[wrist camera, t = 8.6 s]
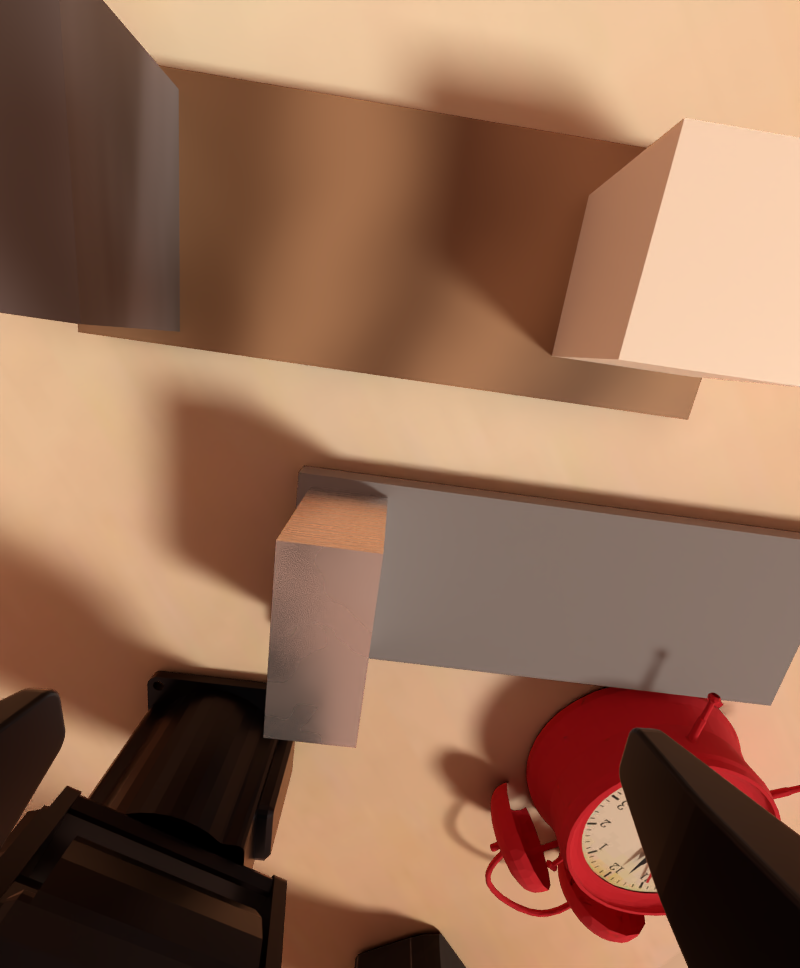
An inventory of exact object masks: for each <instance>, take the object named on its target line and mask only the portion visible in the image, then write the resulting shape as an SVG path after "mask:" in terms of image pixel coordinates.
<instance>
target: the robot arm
mask: <svg viewBox="0 0 800 968" xmlns="http://www.w3.org/2000/svg"><path fill="white" fill-rule="evenodd" d="M158 681H159V682H161V683H163V684H160V683H159V682H158ZM147 686H148V712H147V714H146V715H145V717H144V718H143V720H142V721H141V722H140V724H139V725H138V727H137V728H136V730H135V731H134V732H133V734H132V735H131V737H130V738H129V740H128V741H127V743H126V744H125V745H124V747H123V748H122V750H121V751H120V753H119V754H118V756H117V757H116V758H115V760H114V761H113V763H112V764H111V766H110V767H109V769H108V770H107V771H106V773H105V774H104V776H103V777H102V779H101V780H100V781H99V783H98V784H97V786H96V787H95V789H94V790H93V792H92V793H91V794H90V796H89V797H88V798H86V797H84V796H82V795H80V794H81V791H79V790H76V789H74V788H72V787H70V786H66V787H65V789H64V790H63V791H62V792H61V793H60V795H59V796H58V797H57V798H56V800H55V801H54V802H53V803H52V804H51V806H48V807H47V806H45V805H44V806H43V807H42V808H41V809H40V810H34V811H28V812H27V813H26V815H25V816H24V817H23V818H22V820H21V821H20V822H19V823H18V825H17V826H16V827H15V828H14V826H15V825H16V823H17V821H18V819H19V818H20V816H21V814H22V813H23V811H24V809H25V808H26V806H27V804H28V803H29V801H30V799H31V798H32V796H33V794H34V793H35V791H36V789H37V788H38V786H39V784H40V783H41V781H42V779H43V778H44V776H45V774H46V773H47V771H48V769H49V768H50V766H51V764H52V762H53V761H54V759H55V757H56V756H57V754H58V752H59V751H60V749H61V747H62V744H63V741H64V738H65V726H64V719H63V713H62V707H61V700H60V696H59V694H58V693H57V691H55V690H53V689H40V688H27V689H24V690H21V691H19V692H17V693H15V694H13V695H11V696H9V697H7V698H5V699H3V700H1V701H0V968H281V962H282V947H283V933H284V918H285V904H286V889H287V881H286V880H284V879H282V878H280V877H277V876H275V875H273V876H272V877H269V876H267V875H265V874H262V873H260V872H258V871H255V870H253V869H252V867H253V864H254V860H265V859H266V858H267V857H268V856H269V855H270V854H271V851H272V847H273V843H274V839H275V835H276V832H277V828H278V824H279V820H280V816H281V812H282V808H283V804H284V800H285V796H286V792H287V789H288V785H289V781H290V777H291V773H292V767H293V756H294V745H295V741H289V740H280V739H271V738H263V737H264V721H265V705H266V689H267V683H263V682H254V681H246V680H237V679H228V678H219V677H211V676H202V675H193V674H184V673H176V672H167V671H158V672H156V673H154V675H153V676H152V677H151V678H150V680H149V681H148V685H147ZM619 777H620V782H621V786H622V789H623V792H624V795H625V798H626V801H627V804H628V807H629V810H630V813H631V816H632V819H633V822H634V825H635V828H636V831H637V834H638V837H639V840H640V843H641V846H642V849H643V852H644V855H645V858H646V861H647V864H648V867H649V870H650V873H651V876H652V879H653V882H654V884H655V887H656V890H657V893H658V896H659V898H660V901H661V904H662V906H663V908H664V911H665V913H666V916H667V918H668V921H669V923H670V926H671V928H672V930H673V933H674V935H675V937H676V940H677V942H678V945H679V947H680V949H681V952H682V954H683V956H684V958H685V961H686V963H687V966H688V968H800V835H799V834H797V833H796V832H795V831H793V830H792V829H791V828H790V827H788V826H787V825H786V824H784V823H783V822H782V821H780V820H779V819H778V818H776V817H775V816H774V815H772V814H771V813H770V812H768V811H767V810H766V809H764V808H763V807H762V806H760V805H759V804H758V803H756V802H755V801H754V800H752V799H751V798H750V797H749V796H747V795H746V794H745V793H743V792H742V791H741V790H739V789H738V788H737V787H735V786H734V785H733V784H731V783H730V782H729V781H727V780H726V779H725V778H723V777H722V776H721V775H719V774H718V773H717V772H715V771H714V770H713V769H712V768H710V767H709V766H708V765H706V764H705V763H704V762H702V761H701V760H700V759H698V758H697V757H696V756H694V755H693V754H692V753H690V752H689V751H688V750H686V749H685V748H684V747H682V746H681V745H680V744H678V743H677V742H676V741H674V740H673V739H672V738H671V737H669V736H668V735H667V734H665V733H664V732H662V731H660V730H658V729H652V728H633V729H632V730H631V731H630V732H629V735H628V738H627V742H626V745H625V749H624V752H623V755H622V759H621V762H620V767H619ZM13 828H14V830H13ZM12 830H13V831H12ZM11 831H12V832H11Z"/></svg>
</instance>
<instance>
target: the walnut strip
mask: <svg viewBox="0 0 800 968" xmlns="http://www.w3.org/2000/svg"><path fill="white" fill-rule="evenodd" d="M645 149H647V148H643V147H637V146H631V145H625V144H620V143H614V142H608V141H602V140H596V139H590V138H584V137H578V136H572V135H566V134H560V133H554V132H549V131H543V130H537V129H531V128H525V127H519V126H513V125H507V124H501V123H495V122H489V121H483V120H478V119H472V118H466V117H460V116H454V115H448V114H442V113H436V112H430V111H424V110H418V109H413V108H407V107H401V106H395V105H389V104H383V103H377V102H371V101H365V100H359V99H353V98H347V97H342V96H336V95H330V94H324V93H318V92H312V91H306V90H300V89H294V88H288V87H282V86H276V85H271V84H265V83H259V82H253V81H247V80H241V79H235V78H229V77H223V76H217V75H211V74H206V73H200V72H194V71H188V70H182V69H176V68H170V67H164V66H159V65H158V64H157V63H156V62H155V61H154V60H153V58H152V57H151V56H150V55H149V54H148V53H147V51H146V50H145V49H144V48H143V47H142V46H141V44H140V43H139V42H138V41H137V40H136V39H135V37H134V36H133V35H132V34H131V33H130V31H129V30H128V29H127V28H126V27H125V26H124V24H123V23H122V22H121V21H120V20H119V19H118V17H117V16H116V15H115V14H114V13H113V12H112V10H111V9H110V8H109V7H108V6H107V5H106V3H105V2H104V1H103V0H0V313H7V314H14V315H21V316H27V317H34V318H41V319H48V320H55V321H62V322H69V323H76V324H78V332H82V333H89V334H96V335H103V336H110V337H117V338H123V339H130V340H137V341H144V342H151V343H158V344H165V345H172V346H179V347H186V348H193V349H200V350H207V351H214V352H221V353H228V354H235V355H242V356H248V357H255V358H262V359H269V360H276V361H283V362H290V363H297V364H304V365H311V366H318V367H325V368H332V369H339V370H346V371H353V372H360V373H367V374H374V375H380V376H387V377H394V378H401V379H408V380H415V381H422V382H429V383H436V384H443V385H450V386H457V387H464V388H471V389H478V390H485V391H492V392H499V393H505V394H512V395H519V396H526V397H533V398H540V399H547V400H554V401H561V402H568V403H575V404H582V405H589V406H596V407H603V408H610V409H617V410H624V411H631V412H637V413H644V414H651V415H658V416H665V417H672V418H679V419H686V420H688V418H689V415H690V412H691V409H692V406H693V403H694V400H695V397H696V394H697V391H698V388H699V385H700V382H701V379H702V378H700V377H690V376H682V375H676V374H669V373H662V372H655V371H649V370H642V369H635V368H628V367H622V366H615V365H608V364H601V363H595V362H588V361H581V360H574V359H568V358H561V357H554V356H552V353H553V349H554V344H555V340H556V336H557V331H558V327H559V323H560V318H561V314H562V310H563V305H564V301H565V297H566V292H567V288H568V284H569V279H570V275H571V271H572V266H573V262H574V258H575V253H576V249H577V245H578V240H579V236H580V232H581V227H582V223H583V219H584V214H585V210H586V206H587V201H588V197H589V195H590V194H591V193H592V192H594V191H595V190H596V189H597V188H599V187H600V186H601V185H602V184H603V183H605V182H606V181H607V180H608V179H610V178H611V177H612V176H613V175H615V174H616V173H617V172H618V171H620V170H621V169H622V168H623V167H624V166H626V165H627V164H628V163H629V162H631V161H632V160H633V159H634V158H636V157H637V156H638V155H639V154H640V153H642V152H643V151H644V150H645Z"/></svg>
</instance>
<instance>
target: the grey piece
mask: <svg viewBox="0 0 800 968" xmlns="http://www.w3.org/2000/svg"><path fill="white" fill-rule="evenodd" d="M799 645H800V533H799V532H792V531H785V530H777V529H770V528H762V527H755V526H747V525H740V524H733V523H725V522H718V521H710V520H703V519H696V518H688V517H681V516H673V515H666V514H658V513H651V512H644V511H636V510H629V509H621V508H614V507H606V506H599V505H592V504H584V503H577V502H569V501H562V500H554V499H547V498H540V497H532V496H525V495H517V494H510V493H502V492H495V491H488V490H480V489H473V488H465V487H458V486H451V485H443V484H436V483H428V482H421V481H413V480H406V479H399V478H391V477H384V476H376V475H369V474H361V473H354V472H347V471H339V470H332V469H324V468H317V467H309V466H304V467H303V468H302V469H301V470H300V471H299V475H298V488H297V501H296V510H295V512H294V513H293V515H292V516H291V518H290V519H289V521H288V523H287V524H286V526H285V527H284V529H283V530H282V532H281V533H280V535H279V536H278V538H277V540H276V548H275V563H274V579H273V595H272V611H271V626H270V642H269V658H268V674H267V689H266V705H265V721H264V737H263V738H271V739H280V740H289V741H298V742H308V743H317V744H326V745H335V746H344V747H353V748H356V743H357V736H358V729H359V722H360V715H361V708H362V701H363V694H364V687H365V680H366V673H367V666H368V659H369V658H370V659H378V660H387V661H395V662H404V663H412V664H421V665H429V666H438V667H446V668H455V669H463V670H472V671H480V672H489V673H497V674H506V675H514V676H523V677H531V678H540V679H548V680H557V681H565V682H574V683H582V684H591V685H599V686H608V687H616V688H625V689H633V690H642V691H650V692H659V693H667V694H676V695H684V696H693V697H701V698H707V696H708V694H709V693H712V692H713V693H716V694H718V695H719V696H720V698H721V700H727V701H735V702H744V703H752V704H761V705H769V706H771V704H772V702H773V700H774V697H775V695H776V693H777V691H778V689H779V687H780V685H781V683H782V681H783V678H784V676H785V674H786V672H787V670H788V668H789V666H790V664H791V662H792V660H793V657H794V655H795V653H796V651H797V649H798V647H799Z"/></svg>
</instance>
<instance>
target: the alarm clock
mask: <svg viewBox="0 0 800 968" xmlns="http://www.w3.org/2000/svg"><path fill="white" fill-rule="evenodd" d="M722 705H723V704H722V702H721V698H720V696H719V695H718V694H716V693H713V692H712V693H709V694H708V696H707V698H701V697H693V696H684V695H676V694H667V693H659V692H650V691H642V690H633V689H625V688H616V687H608V688H605V689H602V690H598V691H595V692H593V693H591V694H589V695H587V696H584V697H582V698H580V699H578V700H577V701H575V702H573V703H571V704H570V705H568V706H567V707H566V708H564V709H563V710H561V711H560V712H559V713H558V714H557V715H556V716H554V717H553V718H552V719H551V720H550V721H549V722H548V723H547V724H546V726H545V727H544V728H543V730H542V731H541V732H540V734H539V735H538V736H537V738H536V740H535V742H534V744H533V746H532V748H531V751H530V754H529V757H528V762H527V770H526V774H527V784H528V788H529V792H530V795H531V798H532V801H533V803H534V805H535V807H536V809H537V811H538V812H539V814H540V815H541V817H542V818H543V819H544V821H545V822H546V823H547V824H548V825H549V826H550V827H551V828H552V829H553V831H554V832H555V835H556V838H557V840H555V841H552V842H549V843H547V844H544V845H541V844H540V841H539V838H538V835H537V832H536V830H535V827H534V825H533V822H532V820H531V817H530V815H529V813H528V811H527V809H526V807H525V808H524V809H522V810H516V811H513V810H511V809H510V804H509V799H508V795H507V783H508V782H507V783H504V784H501V785H500V786H498V787H497V788H496V789H495V791H494V792H493V795H492V798H491V817H492V824H493V828H494V832H495V836H496V840H497V842H495V843H493V844H491V845H490V848H491V851H493V852H494V851H496V850H499V849H500V852H499V853H498V854H497V855H496V856H495V857H494V858H493V860H492V861H491V863H490V864H489V866H488V868H487V870H486V874H485V877H486V884H487V886H488V887H489V889H490V891H491V892H492V893H493V894H494V895H495V896H496V897H497V898H498V899H499V900H501V901H502V902H504V903H505V904H507V905H508V906H510V907H512V908H514V909H515V910H517V911H520V912H523V913H526V914H528V915H531V916H537V917H548V916H552V915H556V914H560V913H562V912H564V911H566V910H568V909H570V908H571V909H572V910H573V912H574V913H575V915H576V916H577V917H578V919H579V920H580V921H581V922H582V923H583V924H584V925H585V926H586V927H587V928H588V929H589V930H590V931H592V932H593V933H594V934H596V935H598V936H599V937H601V938H603V939H606V940H608V941H613V942H619V943H623V942H628V941H630V940H632V939H633V938H635V937H637V936H638V935H639V934H640V932H641V930H642V928H643V927H644V925H645V918H644V915H654V916H659V915H666V913H665V911H664V908H663V906H662V904H661V901H660V898H659V896H658V893H657V890H656V887H655V884H654V882H653V879H652V876H651V873H650V870H649V867H648V864H647V861H646V858H645V855H644V852H643V849H642V846H641V843H640V840H639V837H638V834H637V831H636V828H635V825H634V822H633V819H632V816H631V813H630V810H629V807H628V804H627V801H626V798H625V795H624V792H623V789H622V786H621V782H620V777H619V767H620V762H621V759H622V755H623V752H624V749H625V745H626V742H627V738H628V735H629V732H630V731H631V730H632V729H633V728H652V729H658V730H660V731H662V732H664V733H665V734H667V735H668V736H669V737H671V738H672V739H673V740H674V741H676V742H677V743H678V744H680V745H681V746H682V747H684V748H685V749H686V750H688V751H689V752H690V753H692V754H693V755H694V756H696V757H697V758H698V759H700V760H701V761H702V762H704V763H705V764H706V765H708V766H709V767H710V768H712V769H713V770H714V771H715V772H717V773H718V774H719V775H721V776H722V777H723V778H725V779H726V780H727V781H729V782H730V783H731V784H733V785H734V786H735V787H737V788H738V789H739V790H741V791H742V792H743V793H745V794H746V795H747V796H749V797H750V798H751V799H752V800H754V801H755V802H756V803H758V804H759V805H760V806H762V807H763V808H764V809H766V810H767V811H768V812H770V813H771V814H772V815H774V816H775V817H776V818H778V819H779V820H780V821H781V818H780V815H779V811H778V809H777V806H776V804H775V802H774V800H773V799H777V798H781V797H785V796H789V795H791V794H794V793H797V792H800V785H798V786H793V787H789V788H787V787H785V788H780V789H775V790H770V791H769V789H768V788H767V786H766V785H765V783H764V782H763V781H762V780H761V779H760V778H759V777H758V775H757V774H756V773H755V772H754V771H753V770H752V769H751V768H750V767H749V765H748V764H747V763H746V762H745V761H744V759H743V756H742V754H741V749H740V744H739V740H738V737H737V734H736V732H735V730H734V728H733V726H732V725H731V723H730V722H729V721H728V719H727V718H726V717H725V716H724V715H723V713H722V712H721V711H720V710H719V709H718V708H720V707H721V706H722ZM556 847H559V849H560V853H559V856H558V858H557V859H556V860H554V861H553V862H552V861H550V860H547V862H546V861H545V857H544V853H543V852H544V851H547V850H550V849H553V848H556ZM502 858H504V860H505V862H506V864H507V866H508V868H509V870H510V872H511V874H512V875H513V877H514V878H515V879H516V880H517V882H518V883H519V884H520V885H521V886H522V887H523V888H524V889H526V890H528V891H531V892H534V893H536V892H544V891H547V890H549V888H550V879H549V872H548V868H550V869H551V870H553V871H556V870H557V865H558V876H559V881H560V885H561V888H562V891H563V894H564V896H565V898H566V900H567V902H566V903H564V904H562V905H560V906H558V907H555V908H552V909H548V910H536V909H530V908H527V907H524V906H522V905H519V904H517V903H515V902H513V901H511V900H510V899H508V898H507V897H505V896H503V895H502V894H501V893H500V892H499V891H498V890H497V889H496V888H495V887H494V885H493V884H492V883H491V873H492V871H493V869H494V867H495V866H496V865H497V863H498V862H499V861H500V860H501V859H502ZM547 867H548V868H547Z"/></svg>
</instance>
